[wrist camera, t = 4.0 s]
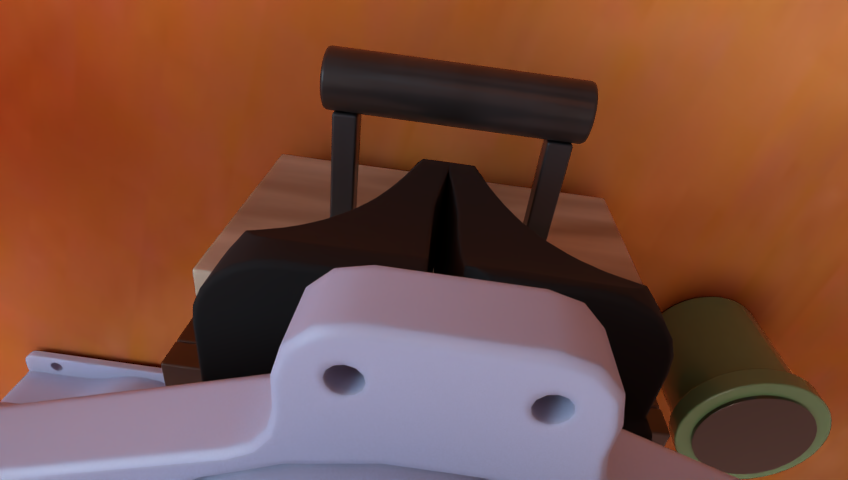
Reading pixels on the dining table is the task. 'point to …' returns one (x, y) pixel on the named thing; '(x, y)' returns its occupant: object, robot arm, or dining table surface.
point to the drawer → (450, 106)
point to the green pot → (737, 393)
